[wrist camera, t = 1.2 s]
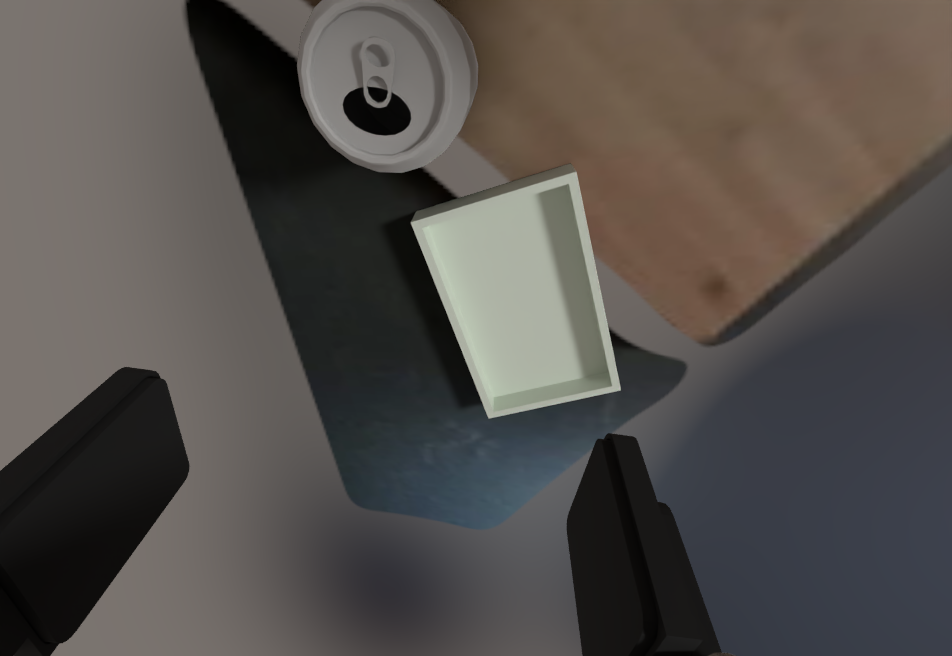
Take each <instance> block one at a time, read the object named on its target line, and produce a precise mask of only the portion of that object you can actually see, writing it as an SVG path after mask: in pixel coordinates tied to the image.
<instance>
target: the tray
mask: <svg viewBox="0 0 952 656" xmlns="http://www.w3.org/2000/svg"><path fill="white" fill-rule="evenodd" d="M411 225H412V227H413V230H414V232H415V235H416V237H417V240H418V242H419V245H420V247H421V250H422V252H423V255H424V257H425V260H426V262H427V265H428V267H429V270H430V272H431V275H432V277H433V280H434V282H435V285H436V288H437V290H438V293H439V295H440V298H441V300H442V303H443V305H444V308H445V310H446V313H447V315H448V318H449V320H450V323H451V325H452V328H453V330H454V333H455V335H456V338H457V340H458V343H459V345H460V348H461V350H462V353H463V355H464V358H465V360H466V363H467V365H468V368H469V370H470V373H471V375H472V378H473V380H474V383H475V385H476V388H477V390H478V393H479V395H480V398H481V400H482V403H483V405H484V408H485V411H486V413H487V416H488V418H494V417H498V416H503V415H508V414H512V413H517V412H522V411H526V410H531V409H536V408H540V407H545V406H550V405H554V404H559V403H564V402H568V401H573V400H578V399H582V398H587V397H592V396H596V395H601V394H606V393H610V392H615V391H620V390H621V388H620V383H619V378H618V373H617V369H616V364H615V359H614V354H613V349H612V344H611V339H610V334H609V329H608V324H607V320H606V315H605V310H604V305H603V300H602V295H601V290H600V285H599V280H598V275H597V271H596V266H595V261H594V256H593V251H592V246H591V241H590V236H589V231H588V226H587V222H586V217H585V212H584V207H583V202H582V197H581V192H580V187H579V182H578V177H577V173H576V170H575V169H574V167H573V166H572V164H571V163H570V164H567V165H564V166H560V167H557V168H554V169H551V170H548V171H544V172H541V173H538V174H535V175H532V176H528V177H525V178H522V179H519V180H515V181H512V182H509V183H506V184H503V185H499V186H496V187H493V188H490V189H487V190H483V191H481V192H477V193H474V194H470V195H467V196H464V197H461V198H458V199H454V200H451V201H448V202H445V203H442V204H438V205H435V206H432V207H429V208H426V209H422V210H419V211H416V213H415V215H414V217H413V219H412V221H411Z"/></svg>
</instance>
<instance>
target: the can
mask: <svg viewBox="0 0 952 656" xmlns="http://www.w3.org/2000/svg"><path fill="white" fill-rule="evenodd" d="M297 70H298V76H299V83H300V90H301V96H302V99H303V101H304V103H305V106H306V108H307V110H308V112H309V115H310V117H311V119H312V122H313V124H314V125H315V127H316V128H317V129H318V130H319V132H320V133H321V134H322V135H323V137H324V138H325V139H326V140H327V142H328V143H329V144H330V146H331V147H332V148H334V149H335V150H337V151H338V152H339V153H341V154H342V155H343V156H345V157H346V158H347V159H349V160H350V161H351V162H353V163H355V164H358V165H360V166H363V167H366V168H369V169H371V170H374V171H377V172H397V173H403V172H406V171H410V170H413V169H416V168H420V167H423V166H426V165H427V164H429V163H430V162H431V161H433V160H434V159H435V158H437V157H438V156H439V155H441V154H442V153H444V152H445V151H446V150H447V148H448V147H449V146H450V144H451V143H452V141H453V140H454V138H455V137H456V136H457V134H458V133H459V131H460V130H461V128H462V126H463V124H464V121H465V119H466V117H467V115H468V113H469V111H470V108H471V106H472V103H473V100H474V96H475V93H476V90H477V87H478V63H477V59H476V55H475V51H474V47H473V43H472V41H471V39H470V38H469V36H468V34H467V33H466V31H465V29H464V28H463V26H462V24H461V23H460V22H459V21H458V20H457V19H456V18H455V17H454V16H453V15H451V14H450V13H449V12H448V11H447V10H446V9H445V8H444V7H442V6H441V5H440V4H438V3H437V2H436V1H434V0H322V1H321V2H320V3H319V4H318V5H317V6H315V7H314V9H313V11H312V13H311V15H310V17H309V20H308V22H307V24H306V26H305V28H304V30H303V32H302V34H301V39H300V47H299V54H298V61H297Z"/></svg>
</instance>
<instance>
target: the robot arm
mask: <svg viewBox="0 0 952 656" xmlns="http://www.w3.org/2000/svg"><path fill="white" fill-rule="evenodd" d="M188 472H189V461H188V458H187V454H186V451H185V447H184V443H183V440H182V436H181V433H180V429H179V426H178V422H177V418H176V415H175V411H174V408H173V404H172V401H171V397H170V393H169V390H168V387H167V383H166V381H165V380H164V379H161V378H160V376H159V374H158V373H157V372H156V371H152V370H145V369H137V368H130V367H124V368H121V369H120V370H118V371H117V372H115V373H114V374H113V375H112V376H111V377H110V378H108V379H107V380H106V381H105V382H104V383H103V384H101V385H100V386H99V387H98V388H97V389H96V390H94V391H93V392H92V393H91V394H90V395H88V396H87V397H86V398H85V399H84V400H83V401H82V402H80V403H79V404H78V405H77V406H76V407H74V409H72V410H71V411H70V412H69V413H68V414H66V415H65V416H64V417H63V418H62V419H60V421H58V422H57V423H56V424H55V425H54V426H52V427H51V428H50V429H49V430H48V431H46V432H45V433H44V434H43V435H42V436H41V437H39V438H38V439H37V440H36V441H35V442H34V443H32V444H31V445H30V446H29V447H28V448H27V449H25V450H24V451H23V452H22V453H21V454H20V455H18V456H17V457H16V458H15V459H14V460H13V461H11V462H10V463H9V464H8V465H7V466H5V467H4V468H3V469H2V470H1V471H0V656H50V655H51V654H52V652H53V651H54V650H55V648H56V647H57V646H58V644H59V643H63V642H65V641H67V640H68V639H69V638H70V637H72V635H73V634H74V633H75V632H76V631H77V629H78V628H79V627H80V625H81V624H82V622H83V621H84V620H85V618H86V617H87V615H88V614H89V613H90V611H91V610H92V608H93V607H94V606H95V604H96V603H97V601H98V600H99V599H100V598H101V596H102V595H103V593H104V592H105V591H106V589H107V588H108V586H109V585H110V583H111V582H112V581H113V580H114V578H115V577H116V575H117V574H118V573H119V571H120V570H121V569H122V567H123V566H124V564H125V563H126V562H127V560H128V559H129V557H130V556H131V555H132V553H133V552H134V550H135V549H136V548H137V546H138V545H139V544H140V542H141V541H142V540H143V538H144V537H145V535H146V534H147V533H148V531H149V530H150V529H151V527H152V526H153V524H154V523H155V522H156V520H157V519H158V517H159V516H160V515H161V513H162V512H163V511H164V509H165V508H166V506H167V505H168V503H169V502H170V501H171V500H172V498H173V497H174V495H175V494H176V492H177V491H178V490H179V488H180V487H181V486H182V484H183V483H184V481H185V480H186V478H187V476H188ZM567 535H568V544H569V552H570V560H571V567H572V576H573V583H574V591H575V599H576V607H577V615H578V623H579V631H580V638H581V646H582V654H583V656H735V655H732V654H729V653H722V652H721V649H720V646H719V643H718V640H717V638H716V635H715V632H714V629H713V626H712V623H711V621H710V618H709V615H708V612H707V609H706V607H705V604H704V601H703V598H702V595H701V593H700V590H699V587H698V584H697V581H696V578H695V575H694V573H693V570H692V567H691V564H690V561H689V559H688V556H687V553H686V550H685V547H684V544H683V542H682V539H681V536H680V533H679V531H678V527H677V525H676V522H675V519H674V516H673V514H672V512H671V510H670V508H669V507H668V506H667V505H666V504H664V503H661V502H657V499H656V496H655V493H654V490H653V487H652V484H651V481H650V478H649V475H648V472H647V469H646V465H645V463H644V459H643V456H642V453H641V450H640V447H639V444H638V442H637V440H636V438H635V437H632V436H624V435H617V434H610V433H608V434H607V435H606V436H605V438H604V439H597V441H596V443H595V445H594V448H593V451H592V453H591V456H590V458H589V461H588V464H587V466H586V469H585V472H584V474H583V477H582V480H581V482H580V485H579V487H578V490H577V493H576V495H575V498H574V501H573V503H572V506H571V509H570V511H569V514H568V518H567Z"/></svg>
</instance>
